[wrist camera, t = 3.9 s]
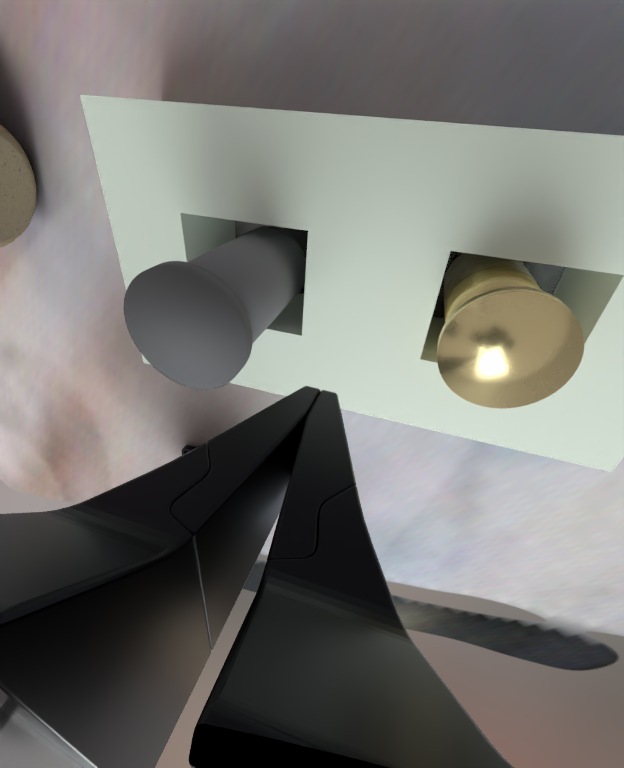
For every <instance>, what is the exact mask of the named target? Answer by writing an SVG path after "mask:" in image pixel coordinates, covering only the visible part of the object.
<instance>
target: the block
mask: <svg viewBox="0 0 624 768" xmlns="http://www.w3.org/2000/svg"><path fill="white" fill-rule="evenodd" d="M80 97H81V101H82V106H83V110H84V114H85V118H86V123H87V127H88V131H89V135H90V140H91V144H92V148H93V152H94V156H95V161H96V165H97V169H98V173H99V178H100V182H101V186H102V190H103V194H104V199H105V203H106V207H107V211H108V216H109V220H110V224H111V228H112V232H113V237H114V241H115V245H116V249H117V254H118V258H119V262H120V266H121V271H122V275H123V279H124V283H125V287H126V291H127V288H128V286H129V284H130V283H131V281H132V280H133V279H134V278H135V277H136V276H137V275H138V274H140V273H141V272H143V271H145V270H147V269H149V268H151V267H154V266H156V265H158V264H161V263H164V262H168V261H183V262H189V261H191V260H193V259H195V258H197V257H199V256H201V255H203V254H205V253H207V252H209V251H211V250H213V249H215V248H217V247H219V246H221V245H223V244H225V243H227V242H229V241H231V240H233V239H235V238H236V229H235V221H242V222H249V223H256V224H263V225H270V226H277V227H284V228H292V229H299V230H306V231H308V240H307V257H306V274H305V291H304V294H301V293H298V294H297V295H296V296H295V298H294V299H293V300H292V301H291V302H290V303H289V304H288V305H287V306H286V307H285V309H284V310H283V311H282V312H281V313H280V314H279V315H278V316H277V317H276V319H275V320H274V321H273V322H272V323H271V324H270V325H269V326H268V327H267V328H266V330H265V331H264V332H263V333H262V334H261V335H260V336H259V337H258V338H257V340H256V341H255V342H254V343H253V344H252V350H251V354H250V357H249V359H248V361H247V363H246V365H245V366H244V367H243V368H242V369H241V371H240V372H239V373H238V374H237V375H236V377H235V378H234V379H233V380H231V381H230V382H229V383H232V384H236V385H241V386H245V387H249V388H253V389H258V390H262V391H266V392H271V393H275V394H279V395H283V396H288V395H290V394H292V393H294V392H295V391H297V390H299V389H301V388H302V387H304V386H310V387H314V388H318V389H320V391H322V390H326V391H330V392H334V393H336V394H337V395H338V399H339V404H340V409H343V410H348V411H352V412H356V413H361V414H365V415H369V416H373V417H378V418H382V419H386V420H391V421H395V422H399V423H403V424H408V425H412V426H416V427H421V428H425V429H429V430H433V431H438V432H442V433H446V434H450V435H455V436H459V437H463V438H468V439H472V440H476V441H480V442H485V443H489V444H493V445H498V446H502V447H506V448H510V449H515V450H519V451H523V452H528V453H532V454H536V455H540V456H545V457H549V458H553V459H558V460H562V461H566V462H570V463H575V464H579V465H583V466H588V467H592V468H596V469H600V470H605V471H609V472H612V471H613V470H614V468H615V467H616V466H617V465H618V464H619V462H620V461H621V460H622V459H623V457H624V136H620V135H607V134H594V133H581V132H567V131H554V130H541V129H528V128H514V127H501V126H488V125H475V124H461V123H448V122H435V121H422V120H408V119H395V118H382V117H369V116H355V115H342V114H329V113H316V112H302V111H289V110H276V109H263V108H249V107H236V106H223V105H209V104H196V103H183V102H170V101H156V100H143V99H130V98H117V97H103V96H90V95H80ZM450 251H455V252H463V253H470V254H477V255H484V256H491V257H498V258H505V259H512V260H520V261H527V262H534V263H541V264H548V265H555V266H562V267H565V269H564V271H563V273H562V276H561V278H560V280H559V282H558V284H557V286H556V288H555V290H554V292H553V295H554V296H555V297H557V298H558V299H560V300H561V301H562V302H563V303H564V304H565V305H566V306H567V307H568V308H569V309H570V311H571V312H572V313H573V314H574V316H575V317H576V319H577V320H578V322H579V323H580V326H581V328H582V330H583V335H584V353H583V357H582V360H581V363H580V365H579V367H578V369H577V370H576V372H575V373H574V375H573V376H572V377H571V379H570V380H569V381H568V382H567V383H566V384H565V385H564V386H563V387H561V388H560V389H559V390H558V391H556V392H555V393H553V394H552V395H550V396H548V397H546V398H545V399H542V400H540V401H538V402H535V403H532V404H529V405H526V406H521V407H515V408H501V409H500V408H489V407H483V406H480V405H476V404H473V403H471V402H468V401H466V400H464V399H463V398H461V397H459V396H458V395H457V394H455V393H454V392H453V391H452V390H451V389H450V388H449V387H448V386H447V385H446V383H445V382H444V380H443V378H442V376H441V374H440V372H439V368H438V362H437V345H438V339H439V335H440V333H441V330H442V328H443V326H444V324H445V319H444V318H438V317H433V316H432V315H433V312H434V308H435V305H436V301H437V297H438V294H439V290H440V287H441V283H442V280H443V276H444V273H445V269H446V266H447V262H448V259H449V255H450ZM141 355H142V353H141ZM142 359H143V363H146V364H150V363H149V362H148V361H147V360H146V358H145V357H144V356H143V355H142Z"/></svg>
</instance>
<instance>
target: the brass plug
mask: <svg viewBox="0 0 624 768" xmlns="http://www.w3.org/2000/svg"><path fill="white" fill-rule="evenodd" d="M444 309H445V324H444V326H443V328H442V330H441V333H440V335H439V339H438V345H437V362H438V368H439V372H440V374H441V376H442V378H443V380H444V382H445V383H446V385H447V386H448V387H449V388H450V389H451V390H452V391H453V392H454V393H455V394H457V395H458V396H459V397H461V398H463V399H464V400H466V401H468V402H471V403H473V404H476V405H480V406H483V407H489V408H500V409H501V408H515V407H521V406H526V405H529V404H532V403H535V402H538V401H540V400H542V399H545V398H546V397H548V396H550V395H552V394H553V393H555V392H556V391H558V390H559V389H560V388H561V387H563V386H564V385H565V384H566V383H567V382H568V381H569V380H570V379H571V377H572V376H573V375H574V373H575V372H576V370H577V369H578V367H579V365H580V363H581V360H582V357H583V353H584V335H583V330H582V328H581V326H580V323H579V322H578V320H577V319H576V317H575V316H574V314H573V313H572V312H571V311H570V309H569V308H568V307H567V306H566V305H565V304H564V303H563V302H562V301H561V300H560V299H558V298H557V297H555V296H554V295H552V294H550V293H548V292H545V291H542V290H541V288H540V287H539V285H538V284H537V283H536V281H535V280H534V278H533V277H532V275H531V274H530V272H529V271H528V270H527V268H526V267H525V265H524V264H523V262H522V261H520V260H512V259H505V258H498V257H491V256H484V255H477V254H470V253H461V254H460V255H459V256H458V257H457V258H456V259H455V260H454V261H453V262H452V263H451V265H450V266H449V268H448V270H447V272H446V275H445V278H444Z"/></svg>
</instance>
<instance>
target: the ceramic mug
mask: <svg viewBox="0 0 624 768" xmlns="http://www.w3.org/2000/svg"><path fill="white" fill-rule="evenodd" d="M35 206H36V183H35V178H34V173H33V170H32V168H31V165H30V163H29V160H28V158H27V156H26V154H25V152H24V150H23V149H22V147H21V146H20V144H19V143H18V142H17V140H16V139H15V138H14V137H13V136H12V135H11V134H10V133H9V131H7V130H6V129H5V128H4V127H3V126H1V125H0V247H3V246H5V245H7V244H9V243H11V242H13V241H14V240H15V239H16V238H17V237H19V236H20V235H21V234H22V233H23V232H24V231H25V229H26V228H27V226H28V225H29V223H30V221H31V218H32V216H33V213H34V211H35Z"/></svg>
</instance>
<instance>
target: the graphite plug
mask: <svg viewBox="0 0 624 768" xmlns="http://www.w3.org/2000/svg"><path fill="white" fill-rule="evenodd" d="M305 274H306V259H305V256H304V253H303V251H302V249H301V247H300V246H299V244H298V243H297V242H296V240H295V239H294V238H293V237H292V236H291V235H289V234H288V233H286V232H285V231H283V230H281V229H278V228H275V227H267V226H266V227H259V228H256V229H254V230H252V231H250V232H248V233H246V234H244V235H242V236H240V237H238V238H235V239H233V240H231V241H229V242H227V243H225V244H223V245H221V246H219V247H217V248H215V249H213V250H211V251H209V252H207V253H205V254H203V255H201V256H199V257H197V258H195V259H193V260H191V261H189V262H183V261H168V262H164V263H161V264H158V265H156V266H154V267H151V268H149V269H147V270H145V271H143V272H141V273H140V274H138V275H137V276H136V277H135V278H134V279H133V280H132V281H131V283H130V284H129V286H128V288H127V291H126V294H125V298H124V315H125V320H126V324H127V327H128V330H129V333H130V335H131V337H132V339H133V341H134V343H135V345H136V346H137V348H138V349H139V351H140V352H141V353H142V355H143V356H144V357H145V358H146V360H147V361H148V362H149V363H150V364H151V365H152V366H153V367H154V368H156V369H157V370H158V371H159V372H160V373H162V374H163V375H165V376H166V377H168V378H169V379H171V380H173V381H175V382H177V383H179V384H181V385H184V386H187V387H190V388H195V389H215V388H219V387H221V386H224V385H226V384H227V383H229V382H230V381H231V380H233V379H234V378H235V377H236V375H237V374H238V373H239V372H240V371H241V369H242V368H243V367H244V366H245V365H246V363H247V361H248V359H249V357H250V354H251V350H252V344H253V343H254V342H255V341H256V340H257V338H258V337H259V336H260V335H261V334H262V333H263V332H264V331H265V330H266V328H267V327H268V326H269V325H270V324H271V323H272V322H273V321H274V320H275V319H276V317H277V316H278V315H279V314H280V313H281V312H282V311H283V310H284V309H285V307H286V306H287V305H288V304H289V303H290V302H291V301H292V300H293V299H294V298H295V296H296V295H297V294H298V293H299V292H300V291H301V289H302V287H303V286H304V283H305Z"/></svg>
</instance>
